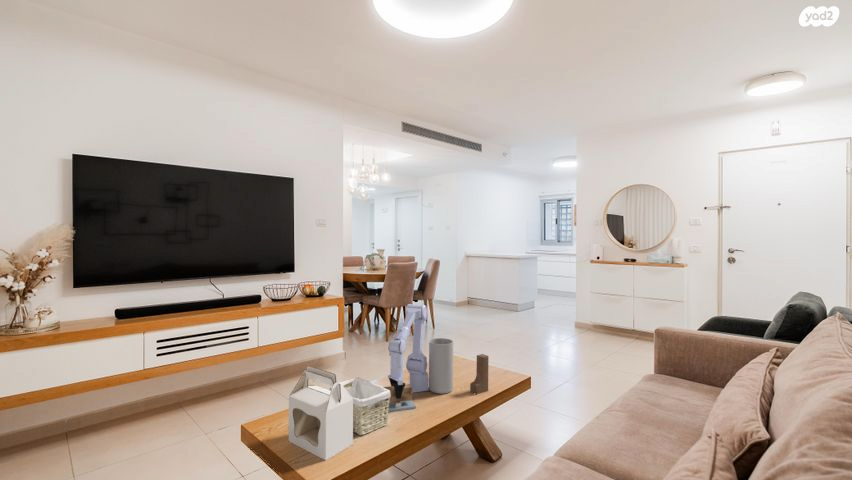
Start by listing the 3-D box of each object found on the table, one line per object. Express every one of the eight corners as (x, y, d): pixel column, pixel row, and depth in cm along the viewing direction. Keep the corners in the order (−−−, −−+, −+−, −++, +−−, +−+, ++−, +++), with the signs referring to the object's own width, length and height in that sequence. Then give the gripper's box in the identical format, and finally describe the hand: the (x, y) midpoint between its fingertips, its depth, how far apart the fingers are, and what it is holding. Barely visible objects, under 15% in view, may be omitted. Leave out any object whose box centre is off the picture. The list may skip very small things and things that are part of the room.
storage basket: (327, 419, 168) (327, 384, 168) (358, 407, 180) (358, 375, 179) (360, 439, 151) (360, 401, 151) (392, 425, 163) (392, 390, 163)
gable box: (287, 441, 149) (288, 368, 149) (315, 427, 160) (316, 359, 160) (325, 461, 136) (326, 381, 136) (353, 445, 147) (354, 371, 147)
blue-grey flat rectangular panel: (410, 400, 187) (410, 398, 187) (415, 408, 179) (415, 406, 179) (377, 404, 182) (377, 402, 182) (381, 413, 174) (381, 410, 174)
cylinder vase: (453, 394, 195) (453, 344, 195) (428, 394, 195) (428, 344, 195) (452, 385, 207) (452, 338, 207) (429, 384, 208) (429, 338, 208)
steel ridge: (397, 401, 184) (397, 396, 184) (400, 407, 178) (400, 402, 178) (392, 401, 183) (392, 397, 183) (395, 407, 177) (395, 403, 177)
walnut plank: (409, 396, 184) (409, 384, 184) (411, 400, 181) (411, 387, 181) (380, 400, 180) (380, 387, 180) (382, 403, 176) (382, 390, 176)
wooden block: (476, 394, 195) (476, 358, 195) (469, 391, 198) (470, 356, 198) (488, 390, 200) (488, 355, 200) (482, 387, 204) (482, 353, 204)
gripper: (384, 361, 186) (384, 390, 186) (391, 371, 172) (391, 402, 172) (399, 360, 188) (398, 388, 188) (407, 370, 174) (407, 400, 175)
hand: (396, 395), depth 180 cm, fingers open, 7 cm apart
